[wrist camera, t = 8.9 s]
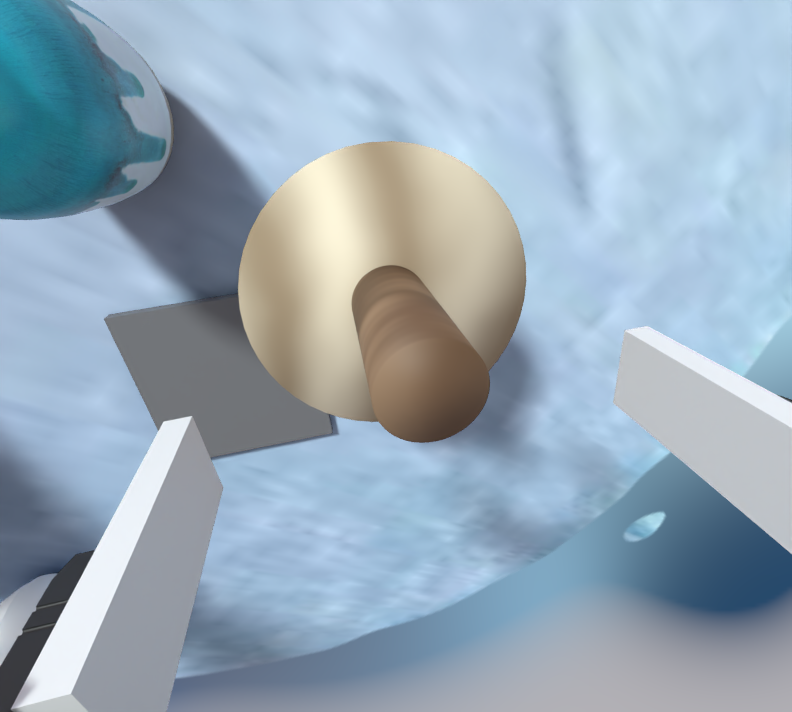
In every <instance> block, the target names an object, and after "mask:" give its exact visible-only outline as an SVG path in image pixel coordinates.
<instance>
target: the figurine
mask: <svg viewBox="0 0 792 712" xmlns="http://www.w3.org/2000/svg"><path fill="white" fill-rule="evenodd" d="M57 574H58V573H55V574H47V575H43V576H40V577H37V578H35V579H34V580H32V581H31V582H30V583H27V584H25V585H23V586H22V587H20V588H19V589H18V590H16V591H15V592H14V593H12V594H11V595H10V596H8V597H7V598H6V599H5V600H4V601H2V602H1V603H0V666H1V664H2V663H3V661H4V659H5V657H6V656H7V654H8V652H9V651H10V649H11V647H12V646H13V644H14V642H15V641H16V639H17V637H18V636H19V635H22V633H23V631H22V629H23V627H24V626H25V624H26V622H27V621H28V619H29V617H30V616H31V614H32V612H35V611H36V605H37V604H38V602H39V600H40V599H41V597H42V595H43V594H44V592H45V590H46V589H47V587H48V585H49V584H50V582H51V580H52V579H53V578H54V577H55V576H56V575H57Z"/></svg>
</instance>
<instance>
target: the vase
mask: <svg viewBox="0 0 792 712" xmlns="http://www.w3.org/2000/svg"><path fill="white" fill-rule="evenodd" d="M173 140H174V126H173V119H172V113H171V110H170V106H169V103H168V100H167V97H166V95H165V93H164V91H163V88H162V86H161V84H160V83H159V81H158V79H157V78H156V76H155V74H154V73H153V71H152V70H151V68H150V67H149V66H148V64H147V63H146V62H145V60H144V59H143V58H142V57H141V56H140V55H139V54H138V53H137V52H136V51H135V50H134V49H133V48H132V47H131V45H130V44H129V43H128V42H127V41H125V40H124V39H123V38H122V37H121V36H119V35H118V34H117V33H116V32H115V31H113V30H112V29H111V28H110V27H108V26H107V25H106V24H105V23H103V22H102V21H101V20H99V19H98V18H97V17H95V16H94V15H92V14H91V13H89V12H88V11H86V10H85V9H83V8H82V7H80V6H78V5H77V4H75V3H74V2H72V1H71V0H0V219H13V220H36V219H46V218H56V217H64V216H70V215H75V214H79V213H83V212H88V211H91V210H95V209H99V208H102V207H106V206H109V205H113V204H115V203H118V202H120V201H122V200H125V199H127V198H129V197H131V196H133V195H135V194H137V193H139V192H140V191H142V190H143V189H145V188H146V187H147V186H149V185H150V184H151V183H153V182H154V181H155V180H156V179H157V177H158V176H159V175H160V174H161V173H162V171H163V170H164V168H165V166H166V164H167V163H168V160H169V157H170V154H171V152H172V146H173Z"/></svg>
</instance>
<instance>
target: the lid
mask: <svg viewBox="0 0 792 712" xmlns="http://www.w3.org/2000/svg"><path fill="white" fill-rule="evenodd" d="M525 286H526V262H525V256H524V250H523V244H522V241H521V238H520V234H519V231H518V228H517V226H516V224H515V221H514V219H513V217H512V215H511V213H510V211H509V209H508V208H507V206H506V205H505V203H504V201H503V200H502V198H501V197H500V195H499V194H498V193H497V192H496V191H495V190H494V188H493V187H492V186H491V185H490V184H489V183H488V182H487V181H486V180H485V179H484V178H483V177H482V176H481V175H479V174H478V173H477V172H476V171H475V170H473V169H472V168H471V167H469V166H468V165H466V164H465V163H463V162H461V161H460V160H458V159H456V158H455V157H453V156H450V155H448V154H446V153H443V152H441V151H439V150H436V149H433V148H430V147H426V146H422V145H418V144H414V143H404V142H394V141H388V142H369V143H363V144H358V145H353V146H348V147H344V148H342V149H339V150H336V151H333V152H331V153H328V154H325V155H324V156H322V157H320V158H318V159H316V160H314V161H312V162H311V163H309V164H307V165H306V166H304V167H303V168H302V169H300V170H299V171H298V172H296V173H295V174H294V175H292V176H291V177H290V178H289V179H288V180H287V181H286V182H285V183H284V184H283V185H282V186H281V187H280V188H279V189H278V190H277V191H276V192H275V193H274V194H273V195H272V197H271V198H270V199H269V201H268V202H267V203H266V205H265V206H264V207H263V209H262V210H261V211H260V213H259V215H258V217H257V219H256V221H255V223H254V224H253V226H252V228H251V230H250V233H249V235H248V238H247V241H246V244H245V246H244V249H243V254H242V258H241V263H240V268H239V281H238V295H239V307H240V312H241V317H242V321H243V325H244V329H245V331H246V334H247V336H248V339H249V342H250V344H251V346H252V348H253V350H254V351H255V353H256V355H257V357H258V359H259V360H260V362H261V363H262V364H263V366H264V367H265V368H266V370H267V371H268V372H269V374H270V375H271V376H272V377H273V378H274V379H275V380H276V381H277V382H278V383H279V384H280V385H281V386H282V387H283V388H285V389H286V390H287V391H288V392H290V393H291V394H292V395H293V396H295V397H296V398H298V399H299V400H301V401H303V402H304V403H306V404H308V405H309V406H312V407H314V408H316V409H318V410H320V411H323V412H325V413H328V414H331V415H334V416H338V417H341V418H346V419H351V420H357V421H370V422H378V421H379V423H380V424H381V425H382V426H383V427H384V428H385V429H386V430H387V431H388V432H389V433H391V434H392V435H394V436H396V437H398V438H400V439H403V440H406V441H411V442H420V443H423V442H434V441H439V440H443V439H445V438H448V437H451V436H453V435H455V434H457V433H458V432H460V431H462V430H463V429H464V428H466V427H467V426H468V425H469V424H471V423H472V422H473V421H474V420H475V418H476V417H477V416H478V415H479V413H480V412H481V410H482V409H483V407H484V405H485V403H486V400H487V398H488V394H489V388H490V379H489V373H488V371H489V370H490V369H491V368H492V366H493V365H494V364H495V363H496V362H497V360H498V359H499V358H500V356H501V354H502V353H503V351H504V350H505V348H506V347H507V345H508V343H509V341H510V339H511V337H512V335H513V333H514V331H515V328H516V326H517V323H518V320H519V317H520V314H521V310H522V306H523V302H524V296H525Z"/></svg>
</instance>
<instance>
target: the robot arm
mask: <svg viewBox="0 0 792 712" xmlns="http://www.w3.org/2000/svg"><path fill="white" fill-rule="evenodd" d="M613 403H614V404H615V405H616V406H617V407H619V408H620V409H621V410H622V411H623V412H625V413H626V414H627V415H628V416H629V417H630V418H632V419H633V420H634V421H635V422H636V423H638V424H639V425H640V426H641V427H642V428H643V429H645V430H646V431H647V432H648V433H649V434H651V435H652V436H653V437H654V438H655V439H656V440H658V441H659V442H660V443H661V444H662V445H664V446H665V447H666V448H667V449H668V450H669V451H671V452H672V453H673V454H674V455H676V456H677V457H678V458H679V459H680V460H681V461H683V462H684V463H685V464H686V465H687V466H688V467H690V468H691V469H692V470H693V471H694V472H695V473H697V474H698V475H699V476H700V477H701V478H703V479H704V480H705V481H706V482H707V483H708V484H710V485H711V486H712V487H713V488H714V489H716V490H717V491H718V492H719V493H720V494H721V495H723V496H724V497H725V498H726V499H727V500H729V501H730V502H731V503H732V504H733V505H735V506H736V507H737V508H738V509H739V510H740V511H742V512H743V513H744V514H745V515H746V516H748V517H749V518H750V519H751V520H752V521H753V522H755V523H756V524H757V525H758V526H759V527H761V528H762V529H763V530H764V531H765V532H766V533H768V534H769V535H770V536H771V537H772V538H774V539H775V540H776V541H777V542H778V543H779V544H781V545H782V546H783V547H784V548H785V549H787V550H788V551H789V552H790V553H791V554H792V400H791V399H788V398H785V397H782V396H779V395H776V394H774V393H772V392H770V391H768V390H766V389H764V388H763V387H761V386H759V385H757V384H755V383H753V382H751V381H749V380H748V379H746V378H744V377H742V376H740V375H738V374H736V373H734V372H733V371H731V370H729V369H727V368H725V367H723V366H721V365H719V364H718V363H716V362H714V361H712V360H710V359H708V358H706V357H704V356H703V355H701V354H699V353H697V352H695V351H693V350H691V349H689V348H687V347H686V346H684V345H682V344H680V343H678V342H676V341H674V340H672V339H671V338H669V337H667V336H665V335H663V334H661V333H659V332H657V331H656V330H654V329H652V328H650V327H648V326H644V327H639V328H634V329H629V330H625V332H624V338H623V344H622V350H621V357H620V363H619V369H618V376H617V382H616V388H615V395H614V401H613ZM222 491H223V486H222V484H221V482H220V479H219V477H218V475H217V472H216V470H215V468H214V465H213V463H212V461H211V459H210V456H209V454H208V452H207V449H206V447H205V445H204V442H203V440H202V438H201V435H200V433H199V431H198V428H197V426H196V424H195V421H194V419H193V417H192V416H189V417H184V418H179V419H174V420H169V421H164V422H163V424H162V425H161V427H160V429H159V431H158V433H157V435H156V437H155V439H154V441H153V442H152V444H151V446H150V448H149V450H148V452H147V454H146V456H145V457H144V459H143V461H142V463H141V465H140V467H139V469H138V471H137V473H136V474H135V476H134V478H133V480H132V482H131V484H130V486H129V488H128V489H127V491H126V493H125V495H124V497H123V499H122V501H121V503H120V505H119V506H118V508H117V510H116V512H115V514H114V516H113V518H112V520H111V521H110V523H109V525H108V527H107V529H106V531H105V533H104V535H103V536H102V538H101V540H100V542H99V544H98V546H97V548H96V550H94V551H89V552H85V553H80V554H76V555H75V556H74V557H73V558H72V559H71V560H70V561H69V562H68V563H67V564H66V565H65V566H64V567H63V568H62V570H61V571H60V572H59V573H58V574H57V575H56V576H55V577H54V578H53V579H52V580H51V582H50V584H49V585H48V587H47V589H46V590H45V592H44V594H43V595H42V597H41V599H40V600H39V602H38V604H37V605H36V611H35V612H32V614H31V616H30V617H29V619H28V621H27V622H26V624H25V626H24V627H23V629H22V631H23V633H22V635H19V636H18V637H17V639H16V641H15V642H14V644H13V646H12V647H11V649H10V651H9V652H8V654H7V656H6V657H5V659H4V661H3V663H2V664H1V666H0V712H166V711H167V707H168V703H169V700H170V696H171V692H172V688H173V683H174V680H175V676H176V672H177V668H178V664H179V660H180V656H181V652H182V648H183V644H184V640H185V637H186V633H187V629H188V625H189V621H190V617H191V613H192V609H193V605H194V601H195V597H196V593H197V589H198V585H199V581H200V577H201V573H202V569H203V566H204V562H205V558H206V554H207V550H208V546H209V542H210V538H211V534H212V530H213V526H214V522H215V518H216V514H217V510H218V506H219V502H220V498H221V495H222Z"/></svg>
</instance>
